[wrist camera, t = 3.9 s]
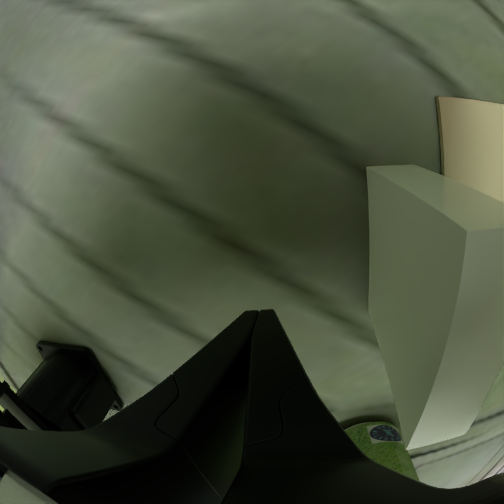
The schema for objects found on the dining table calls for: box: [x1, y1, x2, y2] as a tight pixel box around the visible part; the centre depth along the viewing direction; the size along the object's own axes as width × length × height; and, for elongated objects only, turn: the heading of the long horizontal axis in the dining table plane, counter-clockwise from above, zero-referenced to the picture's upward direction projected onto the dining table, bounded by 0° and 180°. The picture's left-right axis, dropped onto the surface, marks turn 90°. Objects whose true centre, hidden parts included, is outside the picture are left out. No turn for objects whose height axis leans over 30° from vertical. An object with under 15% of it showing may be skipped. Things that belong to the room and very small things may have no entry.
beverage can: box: [345, 422, 420, 482], centre depth 13 cm, size 6×7×12 cm
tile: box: [366, 165, 504, 450], centre depth 9 cm, size 2×7×8 cm, turn 9°
